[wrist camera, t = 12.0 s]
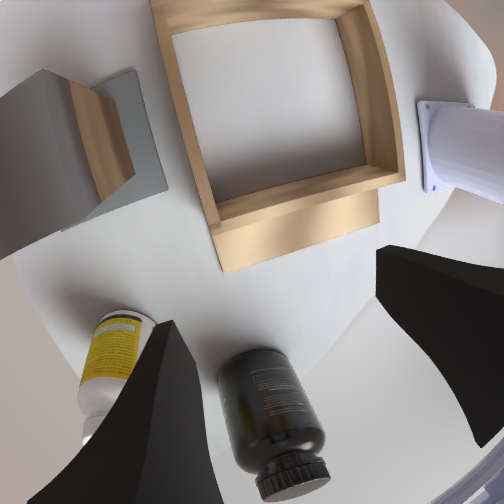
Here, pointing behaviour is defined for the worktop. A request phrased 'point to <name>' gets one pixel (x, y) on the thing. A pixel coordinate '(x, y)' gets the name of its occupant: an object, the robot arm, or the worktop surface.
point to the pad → (131, 145)
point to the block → (56, 157)
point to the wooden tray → (311, 189)
